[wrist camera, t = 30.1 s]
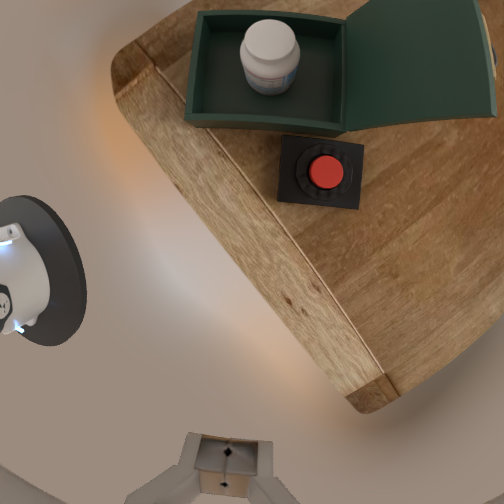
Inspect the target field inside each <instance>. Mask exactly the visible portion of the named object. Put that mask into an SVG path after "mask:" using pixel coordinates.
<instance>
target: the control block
mask: <svg viewBox="0 0 504 504" xmlns="http://www.w3.org/2000/svg"><path fill="white" fill-rule="evenodd" d="M321 156H332V157H334V158H336V159H337V160H338V161H339V162H340V163H341V165H342V168H343V177H342V180H341V182H340V183H339V184H338V185H337V186H335V187H333V188H322V187H319V186H317V185H315V184H314V183H313V182H312V180H311V179H310V176H309V167H310V165H311V163H312V162H313V161H314V160H315V159H316V158H318V157H321ZM363 156H364V145H360V144H354V143H347V142H341V141H333V140H326V139H318V138H309V137H300V136H290V135H282V140H281V154H280V168H279V181H278V194H277V201H278V202H288V203H300V204H310V205H320V206H330V207H339V208H348V209H357V210H359V202H360V192H361V182H362V170H363Z"/></svg>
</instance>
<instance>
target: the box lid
mask: <svg viewBox="0 0 504 504" xmlns="http://www.w3.org/2000/svg"><path fill="white" fill-rule="evenodd" d="M346 27H347V103H346V128H345V130H346V131H351V132H352V131H358V130H364V129H370V128H377V127H384V126H391V125H399V124H408V123H416V122H426V121H437V120H449V119H465V118H488V117H497V106H496V94H495V84H494V81H495V80H496V71H495V65H494V58H493V53H492V47H491V42H490V37H489V33H488V29H487V24H486V20H485V17H484V15H483V14H481V10H480V7H479V3H478V0H370V1H368V2H367V3H366V4H364V5H363V6H361V7H360V8H359V9H357V10H356V11H355V12H353V13H352V14H351V15H349V16H348V17H347V18H346Z"/></svg>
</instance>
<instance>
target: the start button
mask: <svg viewBox="0 0 504 504" xmlns="http://www.w3.org/2000/svg"><path fill="white" fill-rule="evenodd" d="M309 176H310V179H311V180H312V182H313V183H314V184H315V185H317V186H319V187H322V188H333V187H335V186H337V185H338V184H339V183H340V182H341V180H342V177H343V168H342V165H341V163H340V162H339V161H338V160H337V159H336V158H334V157H332V156H321V157H318V158H316V159H315V160H314V161H313V162H312V163H311V165H310V167H309Z"/></svg>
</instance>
